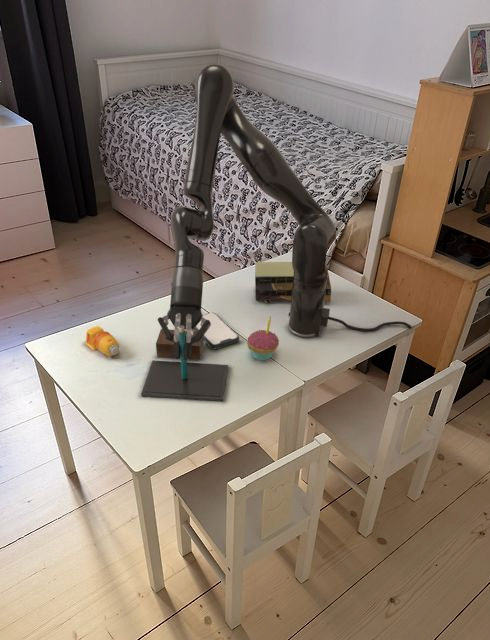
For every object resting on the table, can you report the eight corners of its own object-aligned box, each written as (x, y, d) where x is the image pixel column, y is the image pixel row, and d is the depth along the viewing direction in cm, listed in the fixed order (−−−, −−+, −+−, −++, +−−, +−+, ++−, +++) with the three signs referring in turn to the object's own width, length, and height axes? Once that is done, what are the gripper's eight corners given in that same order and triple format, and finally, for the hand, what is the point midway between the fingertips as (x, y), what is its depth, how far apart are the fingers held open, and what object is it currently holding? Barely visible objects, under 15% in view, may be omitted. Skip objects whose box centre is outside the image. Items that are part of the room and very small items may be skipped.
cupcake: (264, 342, 151) (266, 306, 144) (284, 357, 146) (287, 320, 139) (240, 353, 147) (241, 316, 139) (260, 369, 142) (261, 331, 134)
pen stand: (203, 344, 150) (203, 331, 147) (200, 359, 144) (199, 346, 141) (162, 342, 150) (160, 328, 147) (157, 357, 145) (155, 343, 142)
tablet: (228, 367, 142) (227, 364, 142) (222, 401, 132) (222, 398, 131) (152, 362, 143) (152, 359, 142) (141, 396, 132) (141, 393, 132)
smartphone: (187, 323, 158) (212, 351, 147) (186, 319, 157) (212, 346, 146) (214, 315, 162) (240, 342, 151) (213, 311, 161) (240, 337, 150)
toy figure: (125, 355, 145) (101, 336, 151) (123, 338, 141) (98, 319, 148) (108, 363, 142) (84, 343, 148) (105, 347, 138) (80, 326, 145)
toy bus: (330, 305, 167) (332, 276, 161) (255, 305, 168) (255, 276, 161) (327, 288, 175) (329, 260, 169) (255, 289, 175) (255, 261, 169)
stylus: (188, 376, 137) (185, 325, 127) (187, 380, 136) (183, 328, 126) (182, 376, 137) (178, 324, 127) (181, 380, 136) (177, 328, 126)
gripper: (216, 294, 135) (211, 362, 134) (162, 291, 136) (156, 359, 134) (213, 286, 128) (208, 358, 126) (156, 282, 128) (150, 355, 127)
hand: (181, 358), depth 130 cm, fingers closed on stylus, 1 cm apart
